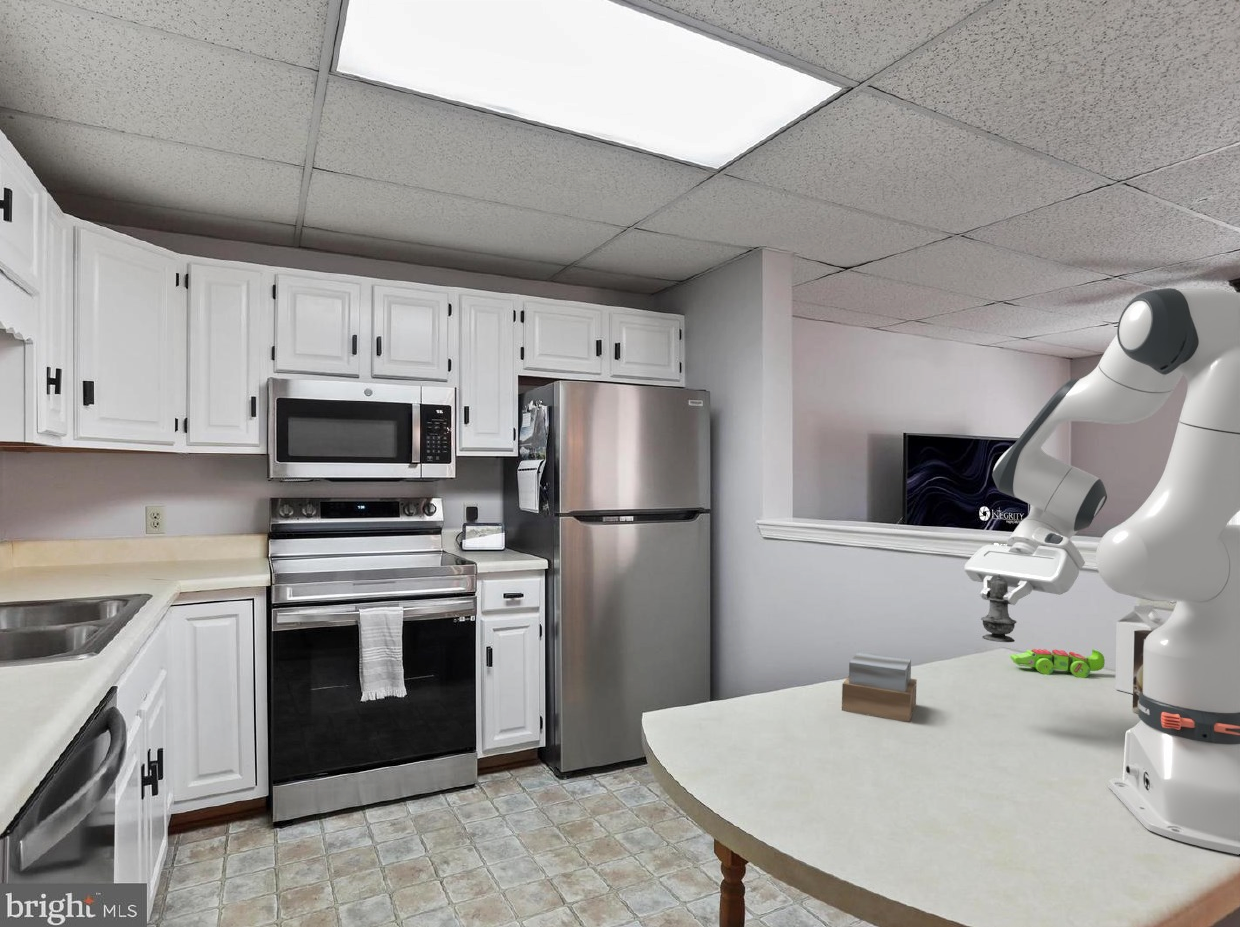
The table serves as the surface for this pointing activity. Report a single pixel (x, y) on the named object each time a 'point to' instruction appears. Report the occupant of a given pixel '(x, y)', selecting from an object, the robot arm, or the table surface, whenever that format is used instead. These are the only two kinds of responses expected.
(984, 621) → the salt shaker
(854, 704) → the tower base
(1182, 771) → the robot arm
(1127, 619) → the milk carton
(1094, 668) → the toy crocodile
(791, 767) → the table surface
